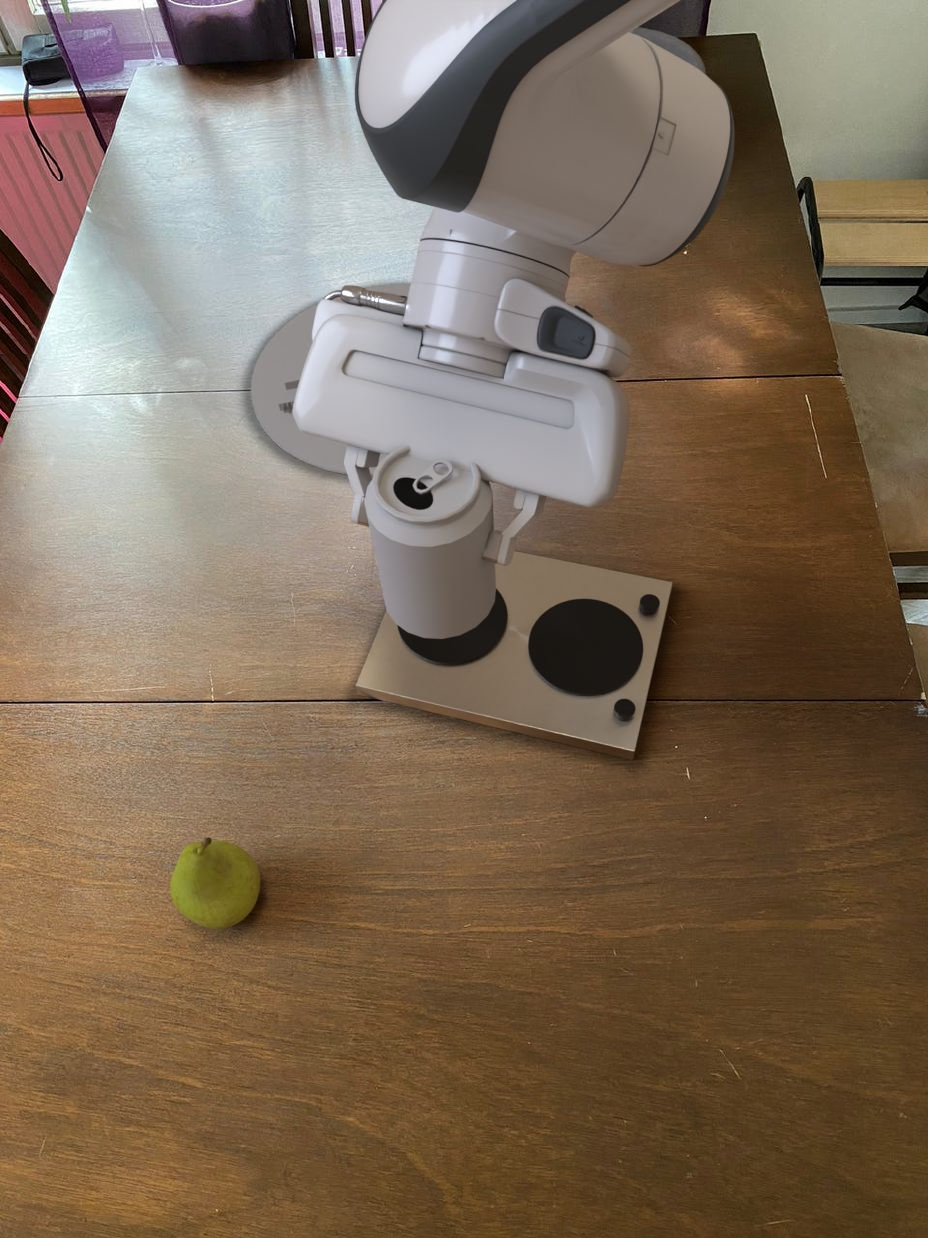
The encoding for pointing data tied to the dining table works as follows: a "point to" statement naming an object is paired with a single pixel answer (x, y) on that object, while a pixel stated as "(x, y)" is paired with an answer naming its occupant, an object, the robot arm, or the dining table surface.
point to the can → (431, 543)
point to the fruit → (215, 883)
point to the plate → (280, 383)
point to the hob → (537, 657)
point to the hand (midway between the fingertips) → (430, 543)
